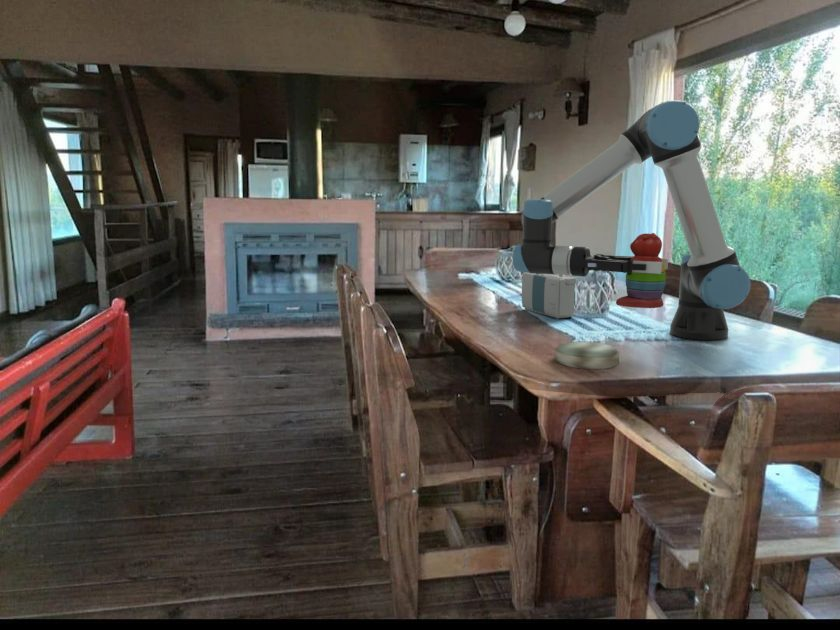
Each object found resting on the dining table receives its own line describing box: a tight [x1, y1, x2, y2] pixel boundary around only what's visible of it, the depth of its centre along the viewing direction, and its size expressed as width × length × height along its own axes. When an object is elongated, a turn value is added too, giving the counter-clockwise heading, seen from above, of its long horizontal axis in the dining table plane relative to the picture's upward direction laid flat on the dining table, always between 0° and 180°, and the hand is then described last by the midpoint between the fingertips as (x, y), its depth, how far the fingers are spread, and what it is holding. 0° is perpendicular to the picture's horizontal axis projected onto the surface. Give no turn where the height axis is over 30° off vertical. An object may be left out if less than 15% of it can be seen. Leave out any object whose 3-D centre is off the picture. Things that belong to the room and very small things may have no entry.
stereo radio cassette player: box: [521, 272, 578, 320], centre depth 213 cm, size 21×8×20 cm, turn 24°
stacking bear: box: [615, 232, 667, 309], centre depth 158 cm, size 11×10×18 cm
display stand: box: [554, 341, 620, 370], centre depth 155 cm, size 15×15×3 cm
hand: (664, 265), depth 155 cm, fingers closed on stacking bear, 9 cm apart
